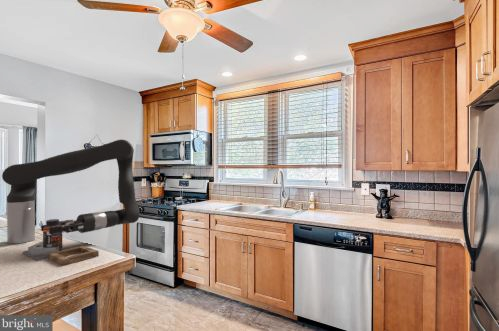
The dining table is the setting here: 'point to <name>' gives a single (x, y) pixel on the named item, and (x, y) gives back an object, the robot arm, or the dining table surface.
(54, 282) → the dining table surface
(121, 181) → the robot arm
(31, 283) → the dining table surface
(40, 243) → the metal v block
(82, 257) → the frame
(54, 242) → the supplement bottle
